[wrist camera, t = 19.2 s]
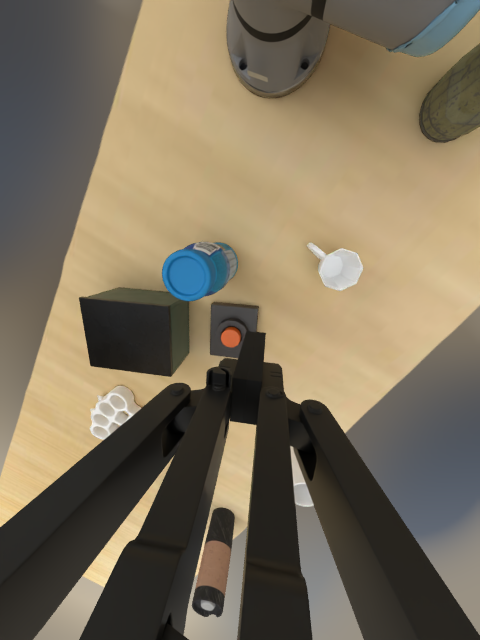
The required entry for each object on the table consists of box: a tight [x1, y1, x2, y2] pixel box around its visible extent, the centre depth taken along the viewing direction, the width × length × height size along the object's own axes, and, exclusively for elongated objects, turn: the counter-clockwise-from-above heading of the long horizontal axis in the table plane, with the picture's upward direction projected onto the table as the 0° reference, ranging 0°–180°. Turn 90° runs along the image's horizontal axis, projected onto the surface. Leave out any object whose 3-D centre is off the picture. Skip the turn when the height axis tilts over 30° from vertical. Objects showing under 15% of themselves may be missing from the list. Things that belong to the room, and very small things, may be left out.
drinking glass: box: [290, 446, 314, 506], centre depth 53 cm, size 7×7×15 cm
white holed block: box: [90, 386, 141, 439], centre depth 64 cm, size 3×18×15 cm
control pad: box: [210, 302, 259, 358], centre depth 51 cm, size 12×10×4 cm
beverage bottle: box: [162, 242, 238, 301], centre depth 39 cm, size 8×8×20 cm
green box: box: [89, 288, 189, 374], centre depth 50 cm, size 17×15×10 cm
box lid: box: [79, 297, 173, 377], centre depth 45 cm, size 18×15×1 cm
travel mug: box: [192, 508, 235, 617], centre depth 64 cm, size 8×8×20 cm
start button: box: [221, 327, 241, 347], centre depth 49 cm, size 4×4×2 cm
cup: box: [307, 242, 363, 291], centre depth 42 cm, size 7×10×8 cm
